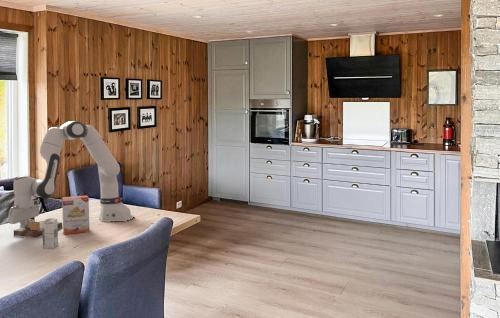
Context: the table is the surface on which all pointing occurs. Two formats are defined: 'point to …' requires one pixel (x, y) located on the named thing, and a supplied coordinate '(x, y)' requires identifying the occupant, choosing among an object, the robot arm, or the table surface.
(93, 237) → the table surface
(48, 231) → the syrup box
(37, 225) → the orange fader
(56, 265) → the table surface
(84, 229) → the cracker box
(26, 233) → the console
